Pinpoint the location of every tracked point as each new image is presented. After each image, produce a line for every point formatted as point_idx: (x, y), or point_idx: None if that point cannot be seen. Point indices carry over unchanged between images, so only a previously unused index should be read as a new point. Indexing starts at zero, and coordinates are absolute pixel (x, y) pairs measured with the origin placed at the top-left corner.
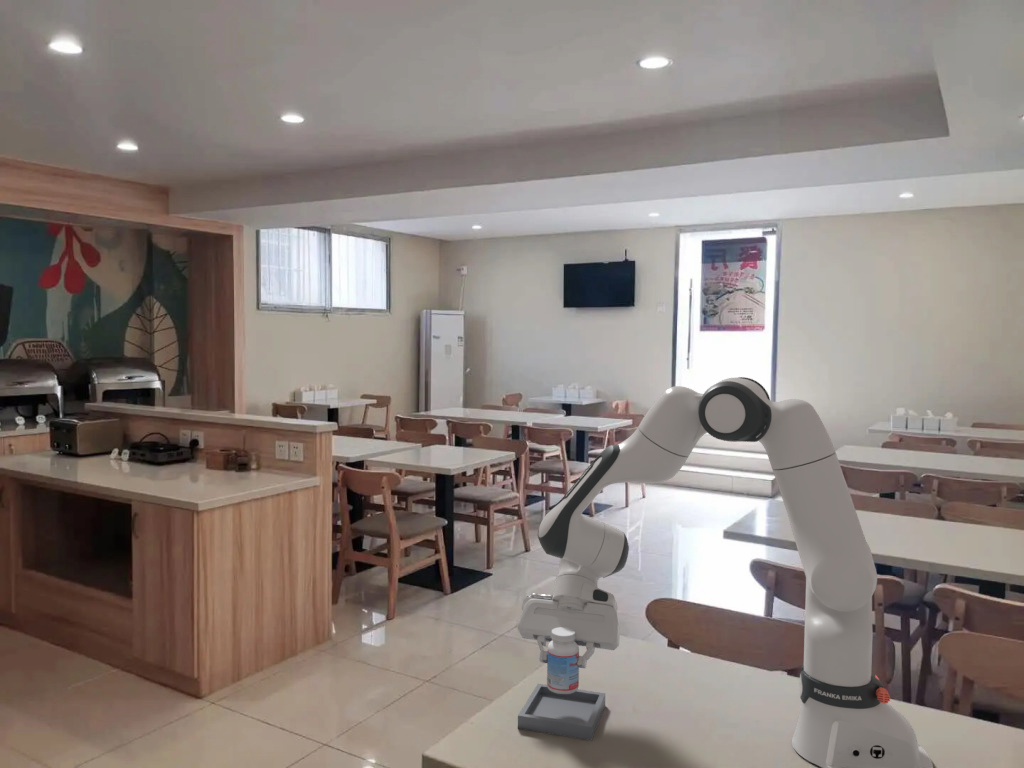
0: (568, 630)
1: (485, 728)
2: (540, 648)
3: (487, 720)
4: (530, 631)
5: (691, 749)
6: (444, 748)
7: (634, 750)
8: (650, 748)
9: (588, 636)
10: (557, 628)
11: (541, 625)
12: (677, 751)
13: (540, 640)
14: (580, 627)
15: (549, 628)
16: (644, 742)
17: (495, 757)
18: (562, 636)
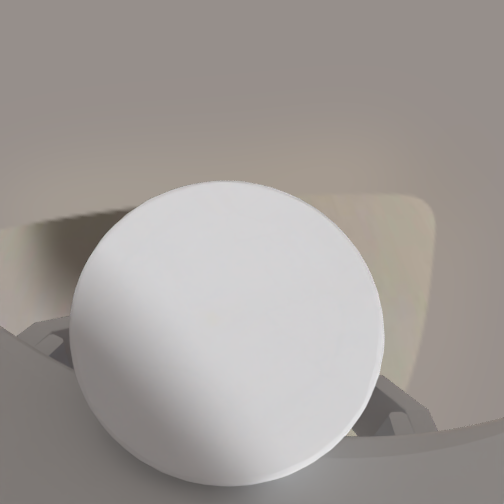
0: (145, 363)
1: (400, 291)
2: (386, 381)
3: (406, 324)
4: (497, 421)
5: (17, 250)
6: (430, 221)
7: (93, 238)
8: (67, 247)
9: (4, 347)
10: (318, 418)
11: (471, 479)
12: (35, 242)
13: (411, 417)
14: (15, 440)
15: (399, 478)
16: (69, 266)
17: (351, 199)
18: (233, 183)
